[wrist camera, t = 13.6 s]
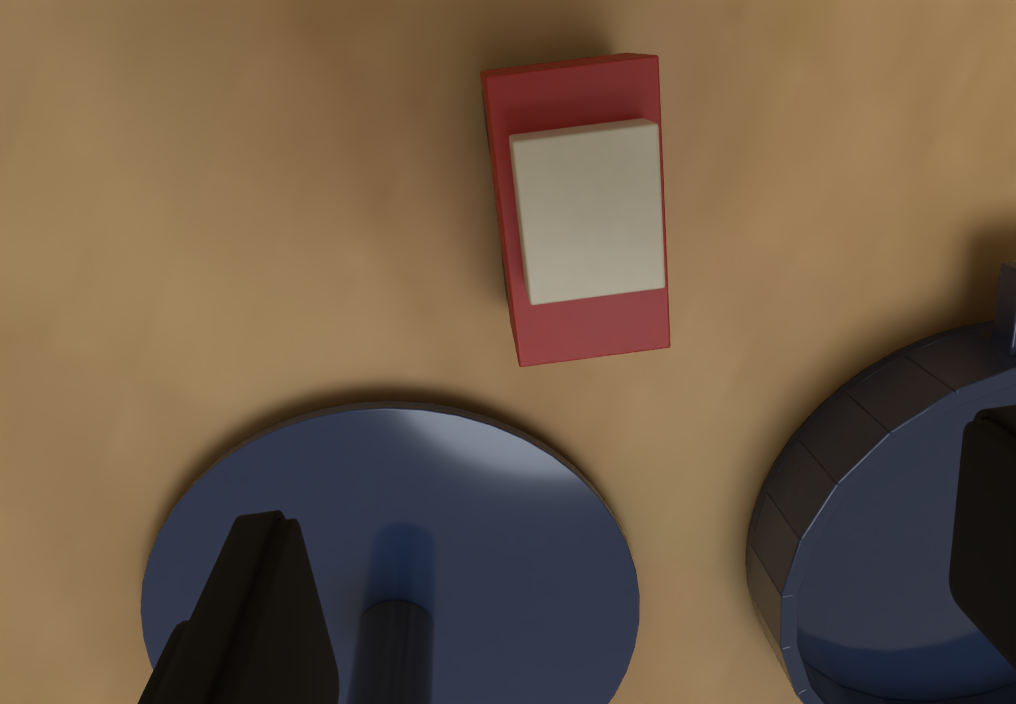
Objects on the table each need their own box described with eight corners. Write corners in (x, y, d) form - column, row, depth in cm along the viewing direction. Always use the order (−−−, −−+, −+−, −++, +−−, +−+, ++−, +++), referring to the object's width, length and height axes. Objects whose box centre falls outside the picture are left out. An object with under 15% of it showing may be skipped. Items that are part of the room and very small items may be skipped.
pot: (1254, 210, 26) (1366, 234, 23) (1132, 719, 35) (1202, 789, 32) (744, 277, 26) (786, 311, 23) (746, 773, 34) (776, 850, 31)
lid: (618, 359, 27) (663, 447, 21) (644, 749, 34) (684, 896, 28) (86, 430, 27) (-15, 538, 21) (220, 809, 33) (172, 970, 27)
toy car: (478, 69, 23) (487, 79, 18) (620, 51, 23) (674, 55, 18) (508, 313, 26) (523, 388, 20) (635, 297, 26) (685, 367, 20)
